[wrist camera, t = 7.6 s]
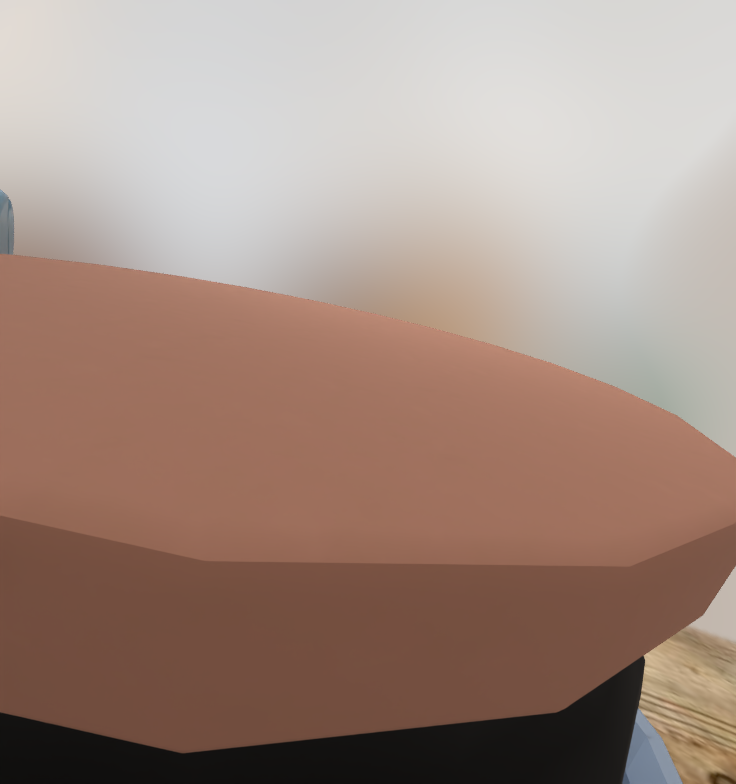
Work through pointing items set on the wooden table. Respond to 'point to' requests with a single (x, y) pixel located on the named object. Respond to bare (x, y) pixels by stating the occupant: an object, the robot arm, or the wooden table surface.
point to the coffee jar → (325, 543)
